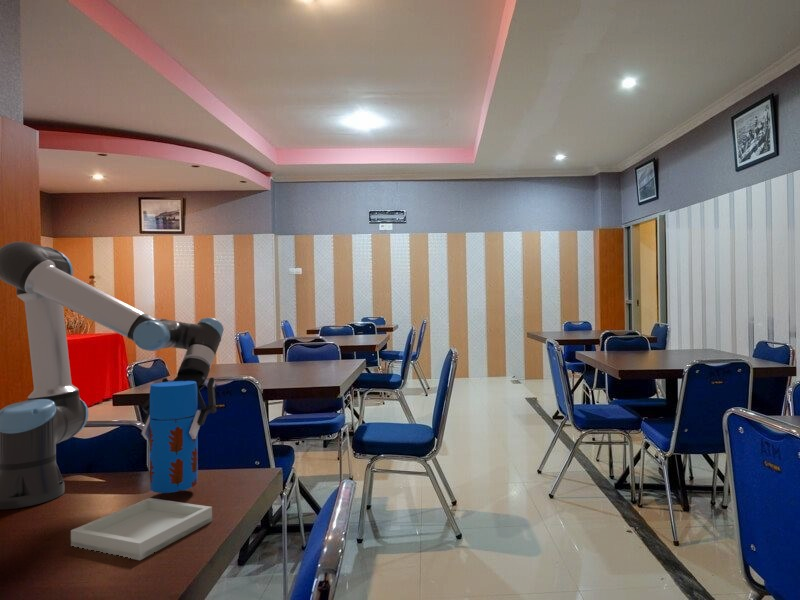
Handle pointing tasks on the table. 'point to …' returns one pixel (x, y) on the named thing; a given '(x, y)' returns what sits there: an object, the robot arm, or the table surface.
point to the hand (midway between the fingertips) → (168, 436)
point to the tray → (141, 528)
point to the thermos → (173, 436)
